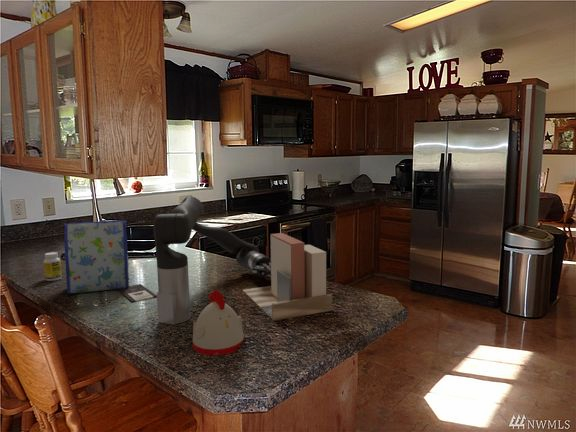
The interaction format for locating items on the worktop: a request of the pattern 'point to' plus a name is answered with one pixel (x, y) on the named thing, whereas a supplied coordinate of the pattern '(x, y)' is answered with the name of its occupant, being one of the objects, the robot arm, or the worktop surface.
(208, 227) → the robot arm
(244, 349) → the worktop surface
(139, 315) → the worktop surface
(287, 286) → the bookend
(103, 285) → the lunch bag
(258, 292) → the rack
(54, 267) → the pill bottle
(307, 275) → the cream book
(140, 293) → the chocolate bar
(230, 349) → the kitchen timer
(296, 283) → the terracotta book
